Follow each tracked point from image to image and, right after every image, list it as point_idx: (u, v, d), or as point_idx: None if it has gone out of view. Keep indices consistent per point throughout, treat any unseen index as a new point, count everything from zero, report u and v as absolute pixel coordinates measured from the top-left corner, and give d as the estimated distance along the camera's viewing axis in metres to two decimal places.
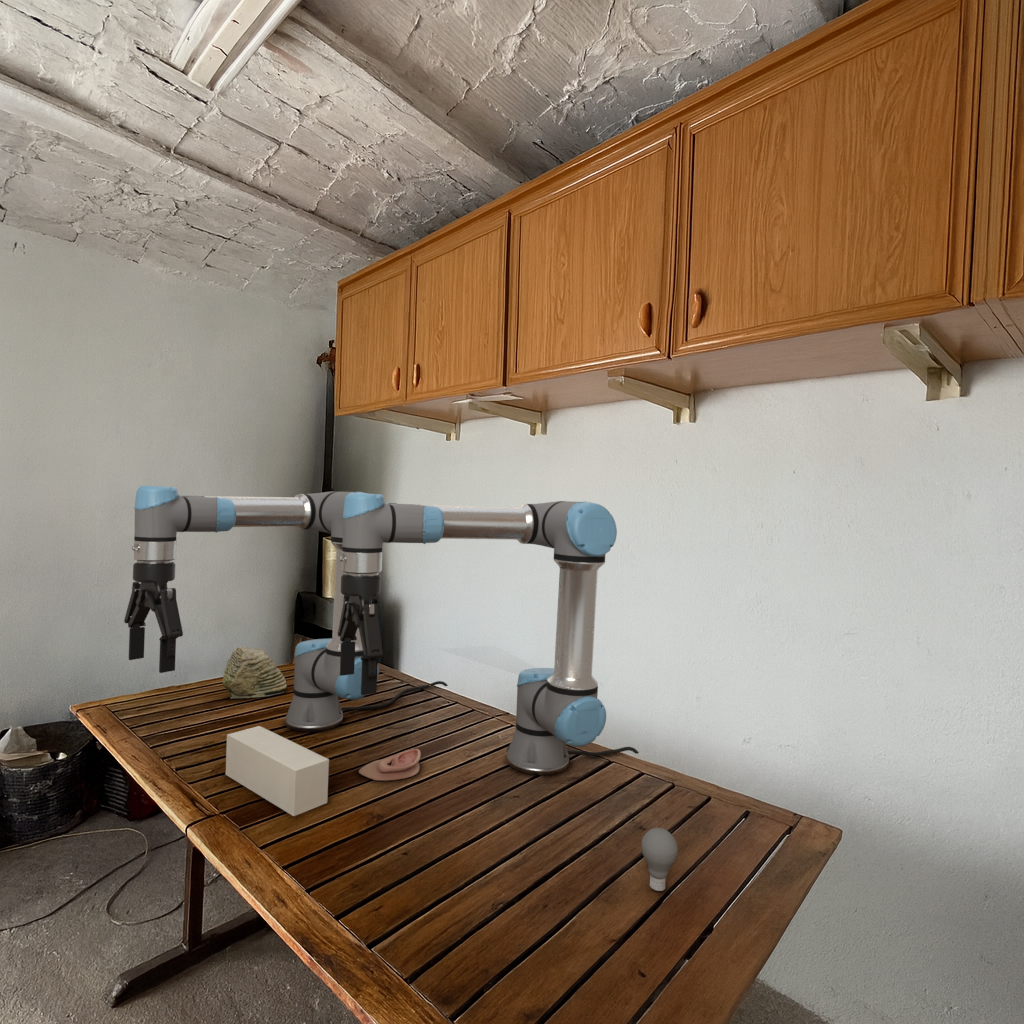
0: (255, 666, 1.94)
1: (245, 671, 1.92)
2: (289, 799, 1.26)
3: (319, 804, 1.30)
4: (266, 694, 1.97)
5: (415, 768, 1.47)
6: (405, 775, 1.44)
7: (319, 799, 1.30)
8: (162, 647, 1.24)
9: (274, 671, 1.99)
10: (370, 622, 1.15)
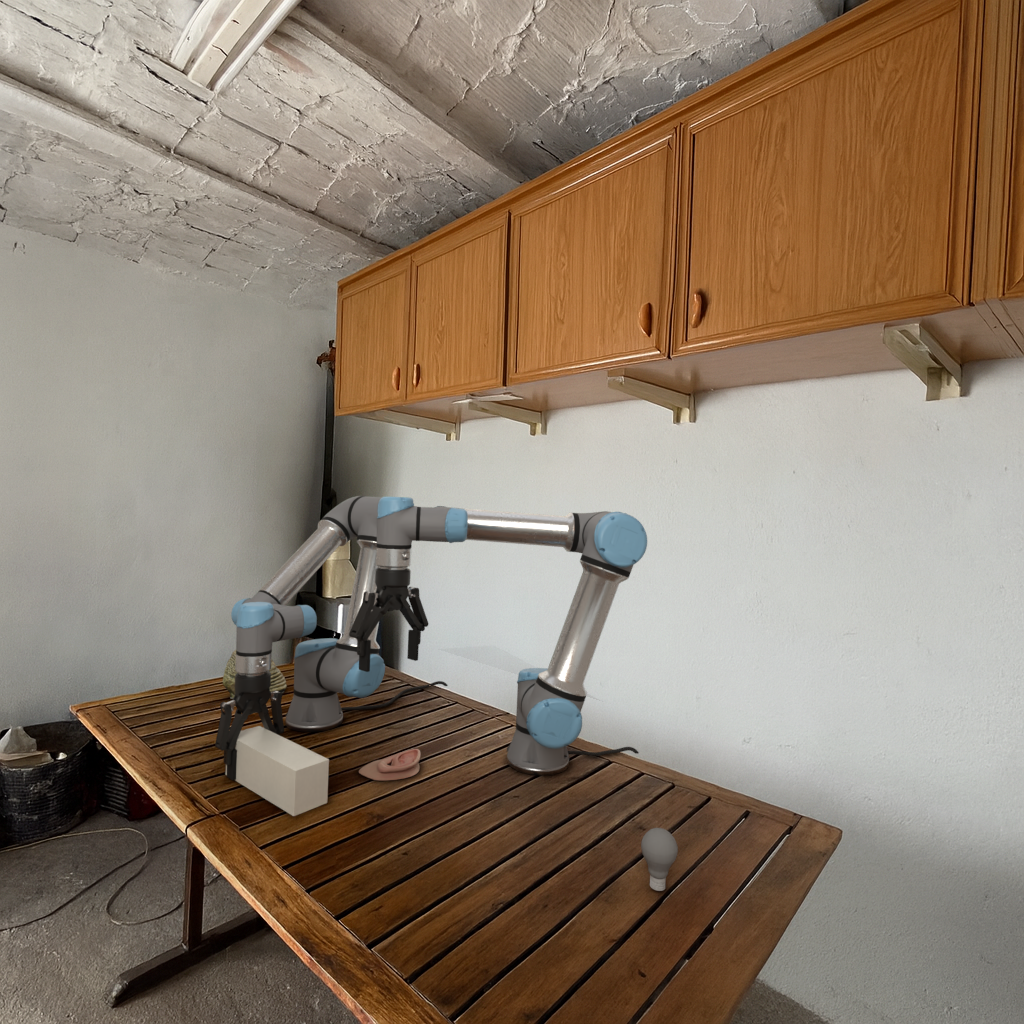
0: None
1: None
2: (289, 799, 1.26)
3: (319, 804, 1.30)
4: None
5: (415, 768, 1.47)
6: (405, 775, 1.44)
7: (319, 799, 1.30)
8: None
9: (274, 671, 1.99)
10: None
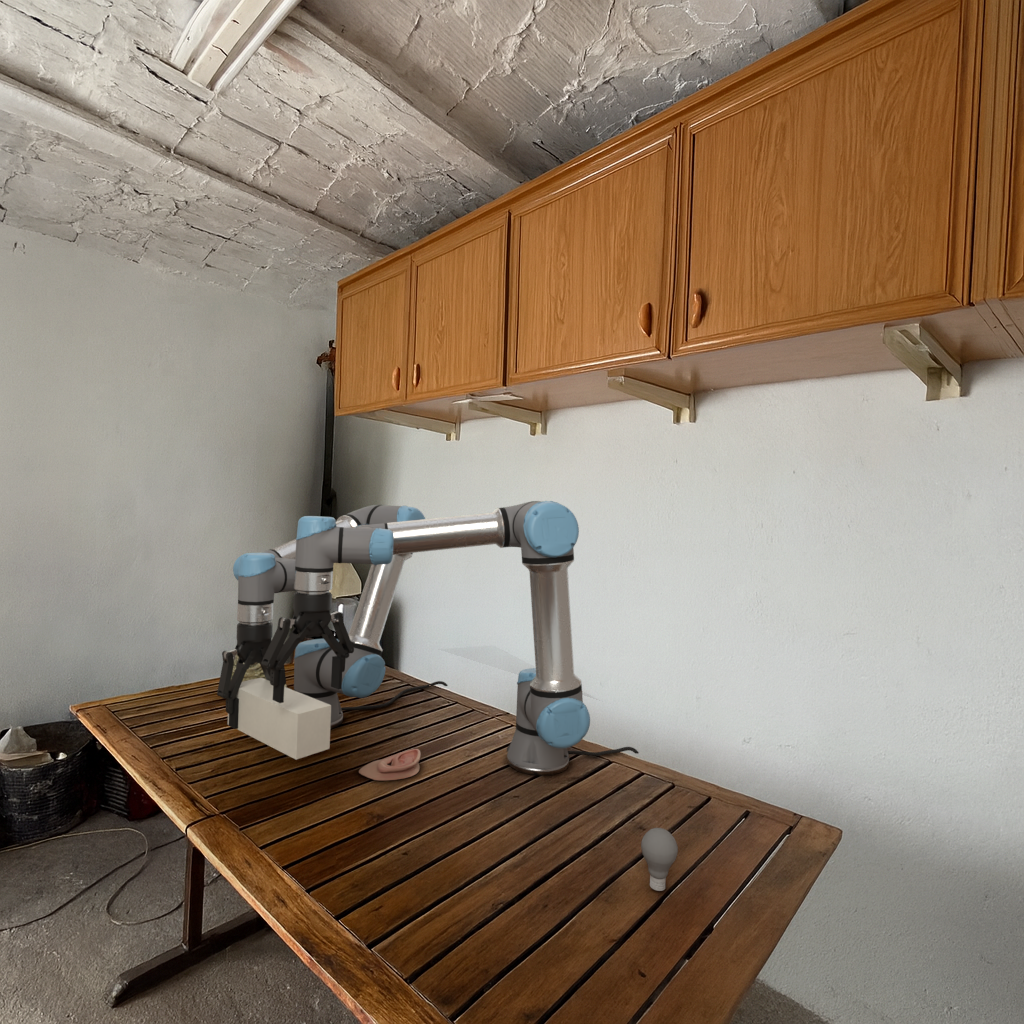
0: (255, 666, 1.94)
1: None
2: (291, 743, 1.26)
3: (321, 749, 1.30)
4: None
5: (415, 768, 1.47)
6: (405, 775, 1.44)
7: (321, 744, 1.30)
8: None
9: None
10: None
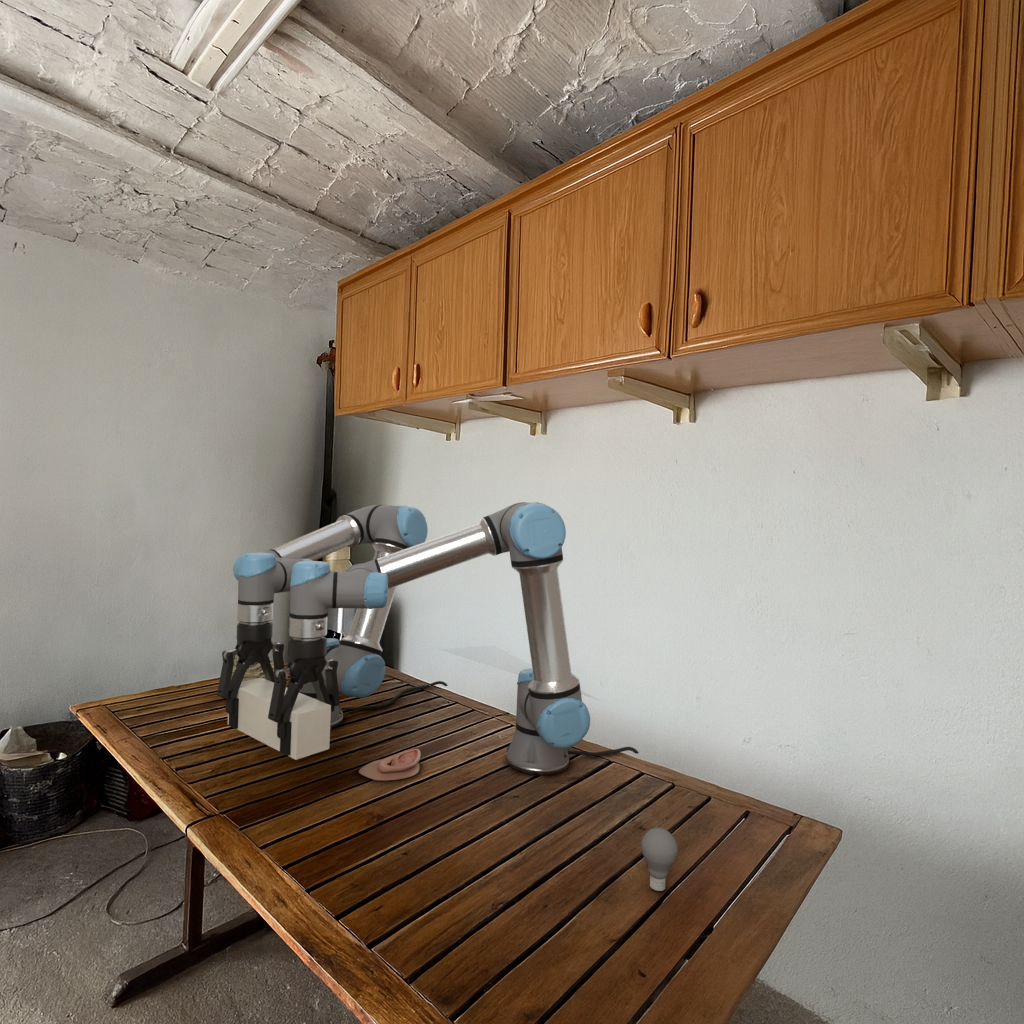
0: (255, 666, 1.94)
1: None
2: (291, 743, 1.26)
3: (321, 749, 1.30)
4: None
5: (415, 768, 1.47)
6: (405, 775, 1.44)
7: (321, 744, 1.29)
8: None
9: None
10: None
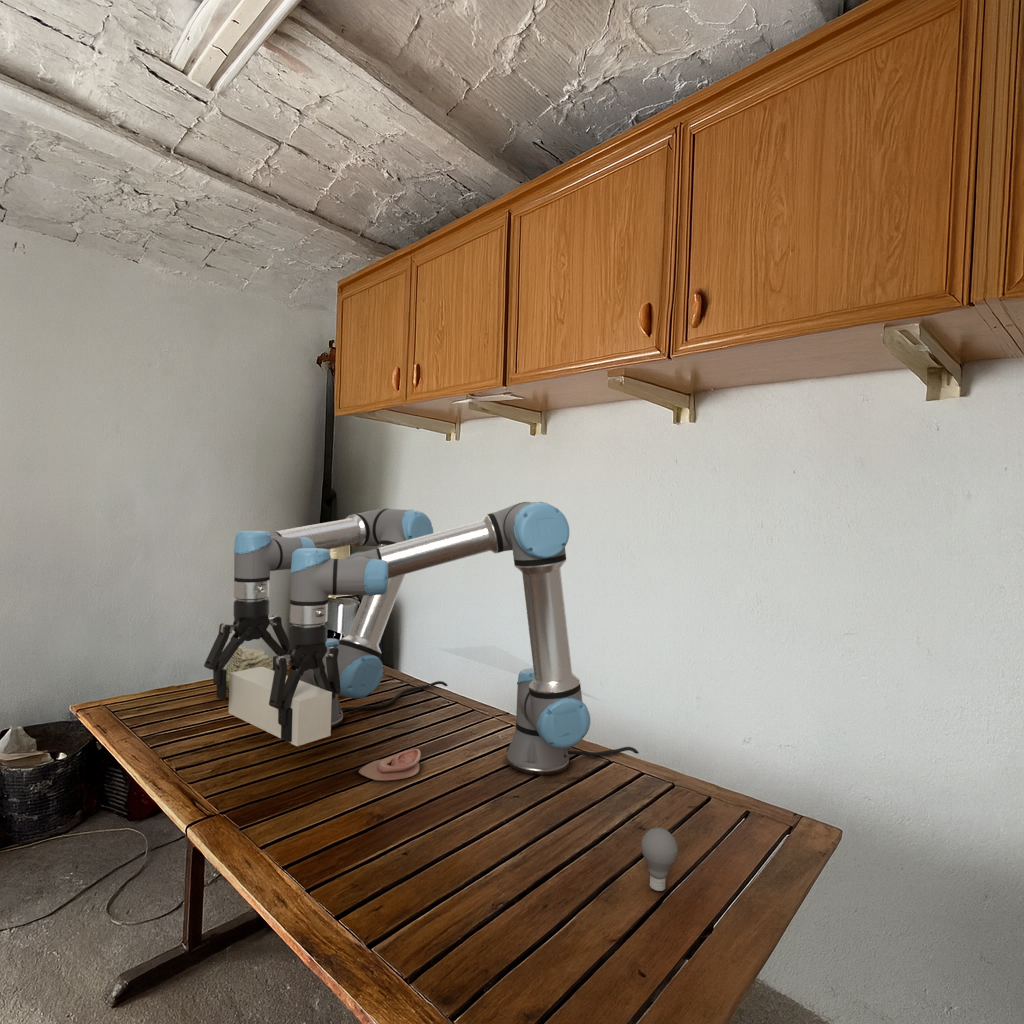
0: (255, 666, 1.94)
1: None
2: (292, 730, 1.26)
3: (322, 736, 1.30)
4: None
5: (415, 768, 1.47)
6: (405, 775, 1.44)
7: (322, 731, 1.29)
8: None
9: None
10: None
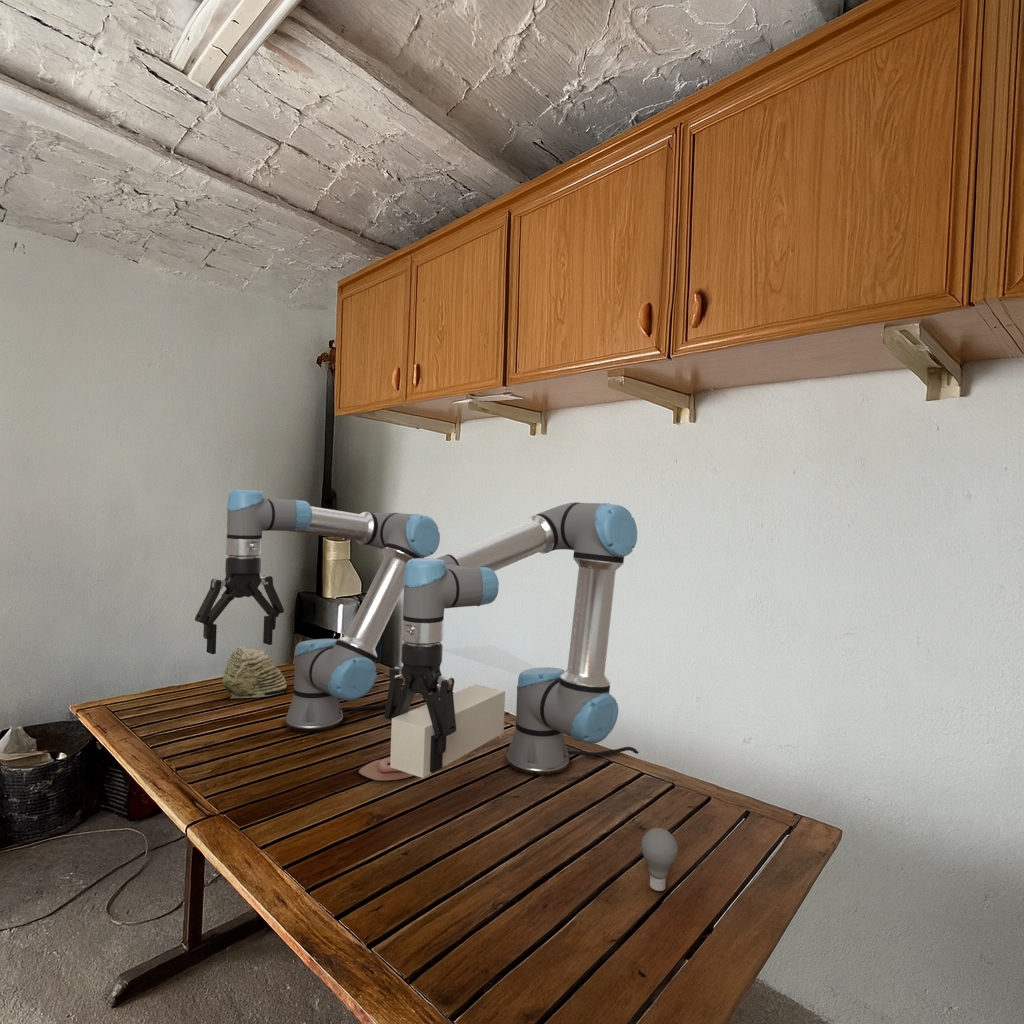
0: (255, 666, 1.94)
1: (245, 671, 1.92)
2: None
3: (414, 773, 1.14)
4: (266, 694, 1.97)
5: None
6: (405, 775, 1.44)
7: (414, 767, 1.14)
8: None
9: (274, 671, 1.99)
10: (448, 698, 1.14)
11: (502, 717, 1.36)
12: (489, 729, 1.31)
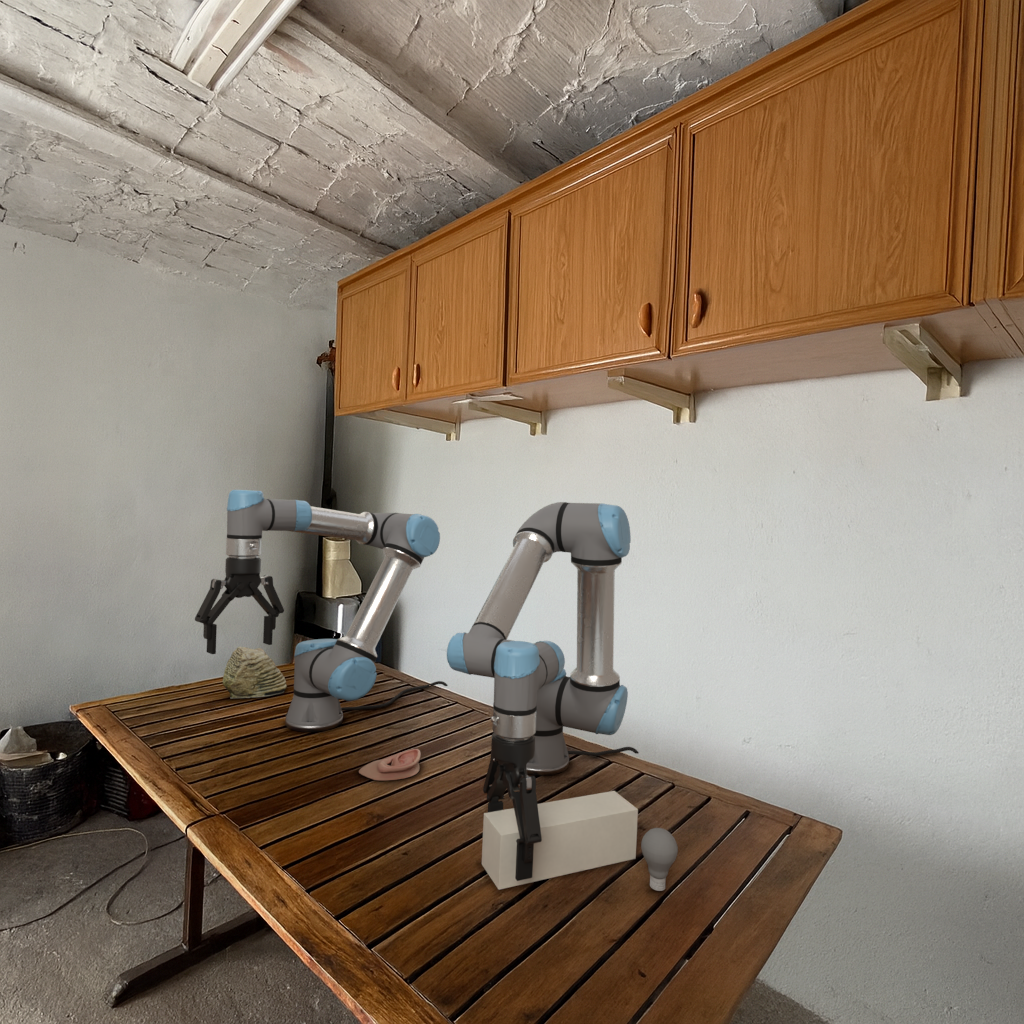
0: (255, 666, 1.94)
1: (245, 671, 1.92)
2: None
3: (494, 881, 1.06)
4: (266, 694, 1.97)
5: (415, 768, 1.47)
6: (405, 775, 1.44)
7: (494, 874, 1.06)
8: None
9: (274, 671, 1.99)
10: (528, 799, 1.02)
11: (633, 840, 1.15)
12: (608, 851, 1.13)
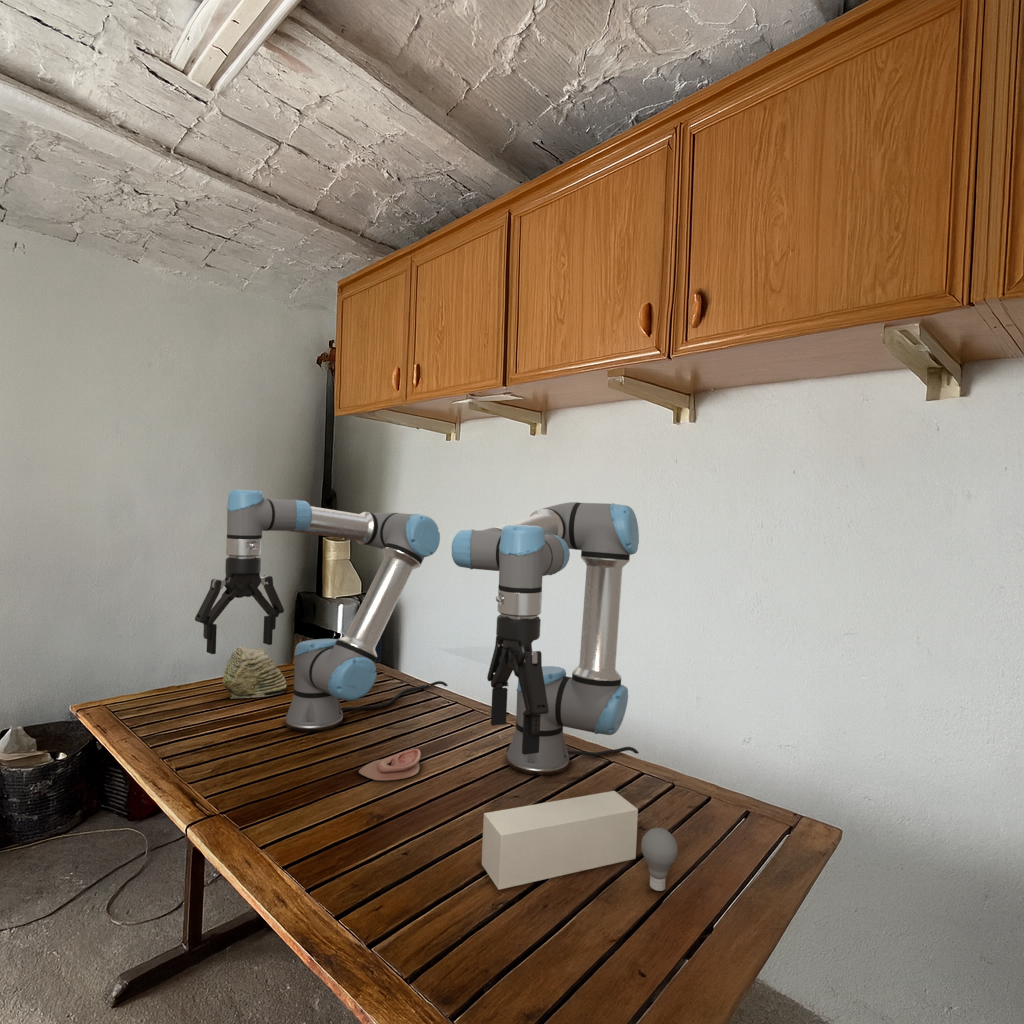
0: (255, 666, 1.94)
1: (245, 671, 1.92)
2: None
3: (494, 881, 1.06)
4: (266, 694, 1.97)
5: (415, 768, 1.47)
6: (405, 775, 1.44)
7: (494, 874, 1.06)
8: None
9: (274, 671, 1.99)
10: (534, 672, 1.02)
11: (633, 840, 1.15)
12: (608, 851, 1.13)
